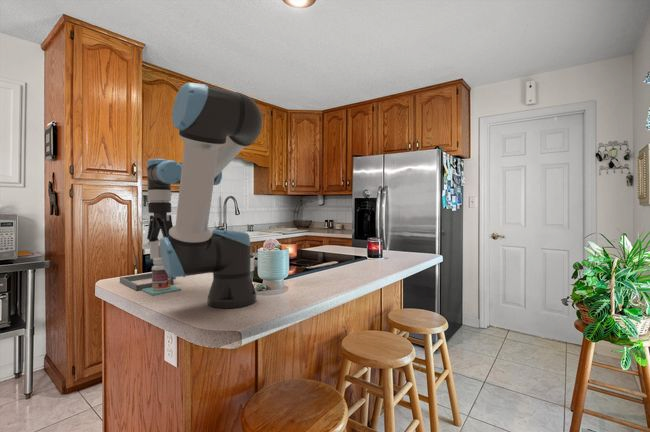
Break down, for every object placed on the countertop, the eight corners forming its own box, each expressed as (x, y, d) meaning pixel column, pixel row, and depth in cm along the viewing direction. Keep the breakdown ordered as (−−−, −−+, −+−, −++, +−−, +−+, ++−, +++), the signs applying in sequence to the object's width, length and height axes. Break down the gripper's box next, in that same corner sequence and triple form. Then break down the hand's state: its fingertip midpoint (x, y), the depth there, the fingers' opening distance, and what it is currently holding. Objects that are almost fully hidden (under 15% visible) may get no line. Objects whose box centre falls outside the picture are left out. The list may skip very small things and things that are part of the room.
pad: (181, 290, 123) (181, 288, 123) (152, 295, 116) (152, 293, 116) (169, 285, 130) (169, 284, 130) (142, 290, 123) (142, 289, 123)
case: (175, 284, 133) (175, 249, 132) (136, 290, 122) (135, 252, 122) (156, 276, 146) (155, 245, 146) (119, 282, 136) (119, 248, 136)
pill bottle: (172, 289, 122) (171, 258, 122) (153, 291, 119) (152, 260, 118) (169, 286, 127) (168, 256, 127) (151, 288, 124) (150, 257, 123)
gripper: (185, 200, 116) (186, 261, 116) (157, 203, 133) (158, 256, 133) (162, 200, 111) (164, 264, 111) (136, 203, 128) (138, 258, 128)
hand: (161, 260), depth 122 cm, fingers open, 13 cm apart
